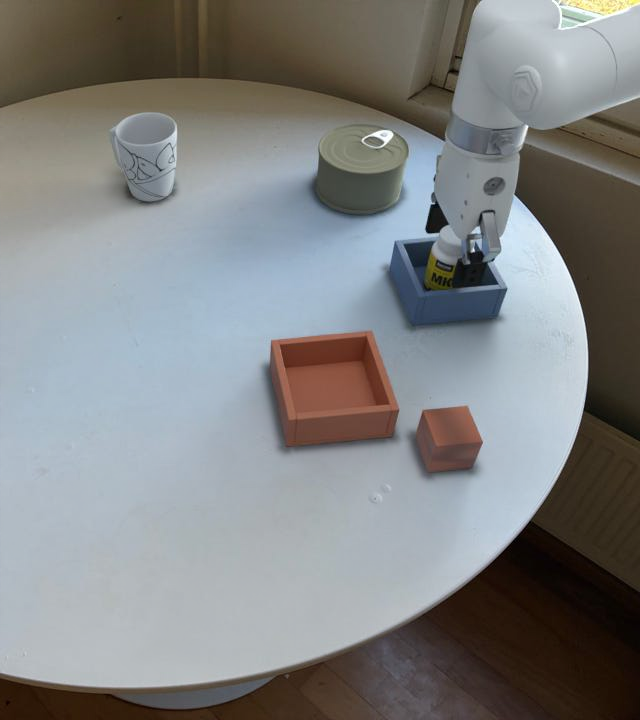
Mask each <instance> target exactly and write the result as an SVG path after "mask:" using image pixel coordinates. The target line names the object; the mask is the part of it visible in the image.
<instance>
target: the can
mask: <svg viewBox="0 0 640 720" xmlns="http://www.w3.org/2000/svg"><path fill="white" fill-rule="evenodd" d="M317 150H318V161H317V162H318V163H317V173H316V174H317V175H316V184H315V192H316V195H317V196H318V199H319V200H320V201H321V202H322V203H323V204H324V205H326V206H327V207H328V208H330V209H333V210H334V211H337V212H340V213H343V214H348V215H356V216H359V215H360V216H366V215H373V214H378V213H381V212H382V213H383V212H384V211H387V210H389V209H391V208H392V207H393V206H394V205H395V204H397V202H398V200H399V199H400V196H401V192H402V191H401V190H402V186H403V181H404V176H405V171H406V166H407V162H408V160H409V158H410V154H411V153H410V152H411V148H410V145H409V142H408V141H407V140H406V139H405V137H404V136H402V135H401V134H400V133H398V132H397V131H395V130H393V129H391V128H388V127H385V126H382V125H378V124H372V123H371V124H370V123H353V124H352V123H351V124H345V125H341V126H337V127H336V128H333V129H331V130H329V131H328V132H327V133H325V134H324V135H323V136H322V137H321V138H320V140H319V143H318V147H317Z"/></svg>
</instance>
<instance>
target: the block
mask: <svg viewBox="0 0 640 720" xmlns="http://www.w3.org/2000/svg"><path fill="white" fill-rule="evenodd" d="M414 439H415V441H416V444H417V446H418V449H419V452H420V455H421V458H422V460H423V464H424V466H425V470H426V472H427V473H436V472H448V471H457V470H469V469H473V467H474V465H475V463H476V461H477V459H478V455H479V454H480V451H481V448H482V446H483V444H484V441H483V439H482V436H481V434H480V432H479V429H478V426H477V424H476V422H475V420H474V418H473V416H472V413H471V410H470V407H469V406H468V405H459V406H458V405H457V406H448V407H437V408H428V409H422V410H421V414H420V417H419V421H418V424H417V428H416V431H415V434H414Z"/></svg>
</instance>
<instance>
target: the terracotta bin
mask: <svg viewBox="0 0 640 720" xmlns="http://www.w3.org/2000/svg"><path fill="white" fill-rule="evenodd" d="M269 371H270V376H271V381H272V385H273V390H274V395H275V400H276V404H277V409H278V414H279V418H280V423H281V427H282V433H283V436H284V441H285V445H286V447H287V448H289V447H297V446H308V445H309V446H310V445H317V444H318V445H319V444H320V445H321V444H328V443H341V442H351V441H362V440H371V439H382V438H392V437H394V433H395V430H396V425H397V421H398V418H399V415H400V409H401V408H400V406H399V403H398V401H397V398H396V395H395V392H394V388H393V386H392V383H391V381H390V378H389V375H388V371H387V369H386V366H385V363H384V361H383V357H382V355H381V351H380V349H379V346H378V344H377V341H376V338H375V335H374V332H373V330H362V331H351V332H341V333H329V334H320V335H311V336H310V335H308V336H298V337H289V338H288V337H287V338H280V339H279V338H278V339H271V340H270V351H269Z"/></svg>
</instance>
